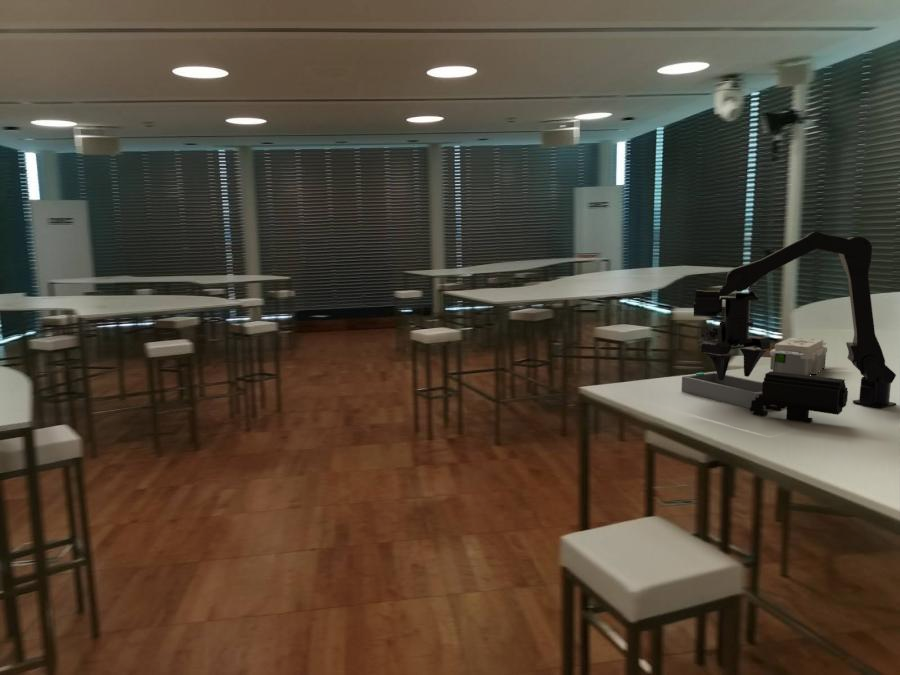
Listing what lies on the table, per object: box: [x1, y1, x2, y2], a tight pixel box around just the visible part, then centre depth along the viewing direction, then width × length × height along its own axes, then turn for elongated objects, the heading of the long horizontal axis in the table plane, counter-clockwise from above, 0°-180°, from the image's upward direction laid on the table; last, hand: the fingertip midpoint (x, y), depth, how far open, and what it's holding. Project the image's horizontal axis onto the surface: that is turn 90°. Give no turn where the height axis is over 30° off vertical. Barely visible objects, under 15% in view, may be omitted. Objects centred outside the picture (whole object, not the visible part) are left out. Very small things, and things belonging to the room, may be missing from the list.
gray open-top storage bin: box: [681, 371, 776, 410], centre depth 159 cm, size 12×23×4 cm, turn 26°
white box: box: [769, 337, 828, 376], centre depth 186 cm, size 12×28×10 cm, turn 137°
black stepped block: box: [749, 370, 849, 424], centre depth 138 cm, size 7×18×10 cm, turn 47°
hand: (734, 378), depth 159 cm, fingers open, 9 cm apart
